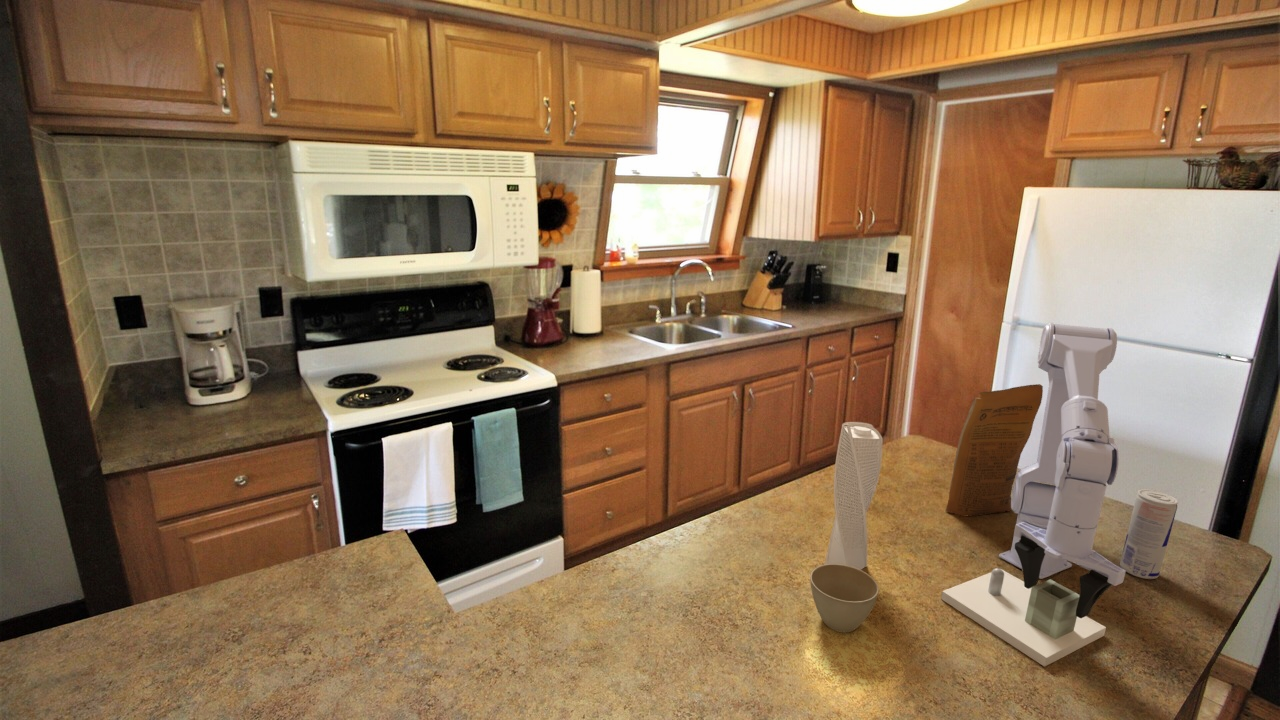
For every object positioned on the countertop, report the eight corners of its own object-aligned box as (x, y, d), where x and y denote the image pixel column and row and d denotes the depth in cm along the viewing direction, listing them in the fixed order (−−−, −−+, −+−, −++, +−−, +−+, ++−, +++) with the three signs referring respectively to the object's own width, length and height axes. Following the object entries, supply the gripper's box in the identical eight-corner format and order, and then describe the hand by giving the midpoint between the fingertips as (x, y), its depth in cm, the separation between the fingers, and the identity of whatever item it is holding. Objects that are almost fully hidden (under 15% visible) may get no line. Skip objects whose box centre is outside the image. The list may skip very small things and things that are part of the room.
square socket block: (1043, 612, 99) (1050, 579, 97) (1073, 630, 95) (1081, 596, 93) (1024, 620, 97) (1031, 586, 95) (1055, 639, 93) (1063, 604, 91)
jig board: (998, 576, 111) (1004, 546, 109) (1103, 635, 96) (1112, 602, 95) (941, 599, 104) (946, 567, 103) (1044, 666, 89) (1052, 631, 88)
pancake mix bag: (1032, 514, 133) (1057, 387, 126) (954, 522, 129) (976, 392, 121) (1007, 499, 139) (1030, 378, 132) (932, 507, 135) (952, 382, 128)
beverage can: (1165, 583, 110) (1186, 505, 106) (1129, 578, 111) (1148, 501, 107) (1147, 565, 115) (1166, 490, 111) (1113, 561, 116) (1131, 486, 112)
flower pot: (872, 609, 101) (878, 570, 99) (873, 650, 92) (879, 608, 90) (808, 596, 104) (812, 557, 102) (803, 634, 95) (807, 593, 93)
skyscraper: (851, 584, 108) (871, 430, 100) (814, 564, 113) (830, 417, 106) (875, 567, 113) (895, 419, 105) (838, 549, 118) (855, 408, 111)
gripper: (1008, 502, 96) (993, 580, 99) (1112, 550, 83) (1091, 637, 87) (1036, 493, 99) (1021, 569, 102) (1141, 538, 86) (1119, 623, 90)
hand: (1055, 600), depth 95 cm, fingers open, 7 cm apart
